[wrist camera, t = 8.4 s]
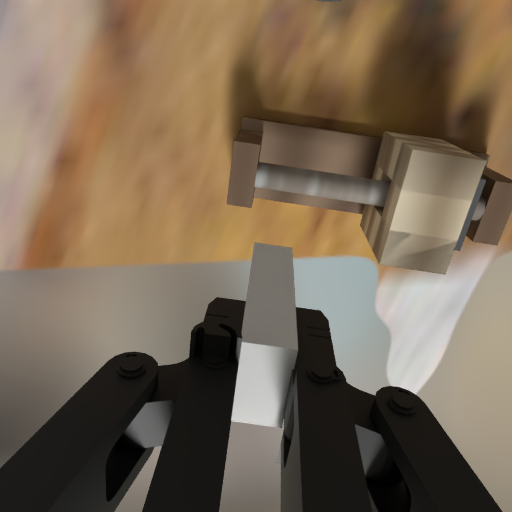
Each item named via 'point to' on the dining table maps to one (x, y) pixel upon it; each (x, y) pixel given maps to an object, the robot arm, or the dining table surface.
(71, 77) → the dining table surface
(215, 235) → the dining table surface
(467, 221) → the dark grey flat block
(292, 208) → the dining table surface
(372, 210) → the sleeve
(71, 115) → the dining table surface
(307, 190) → the pipe stand
